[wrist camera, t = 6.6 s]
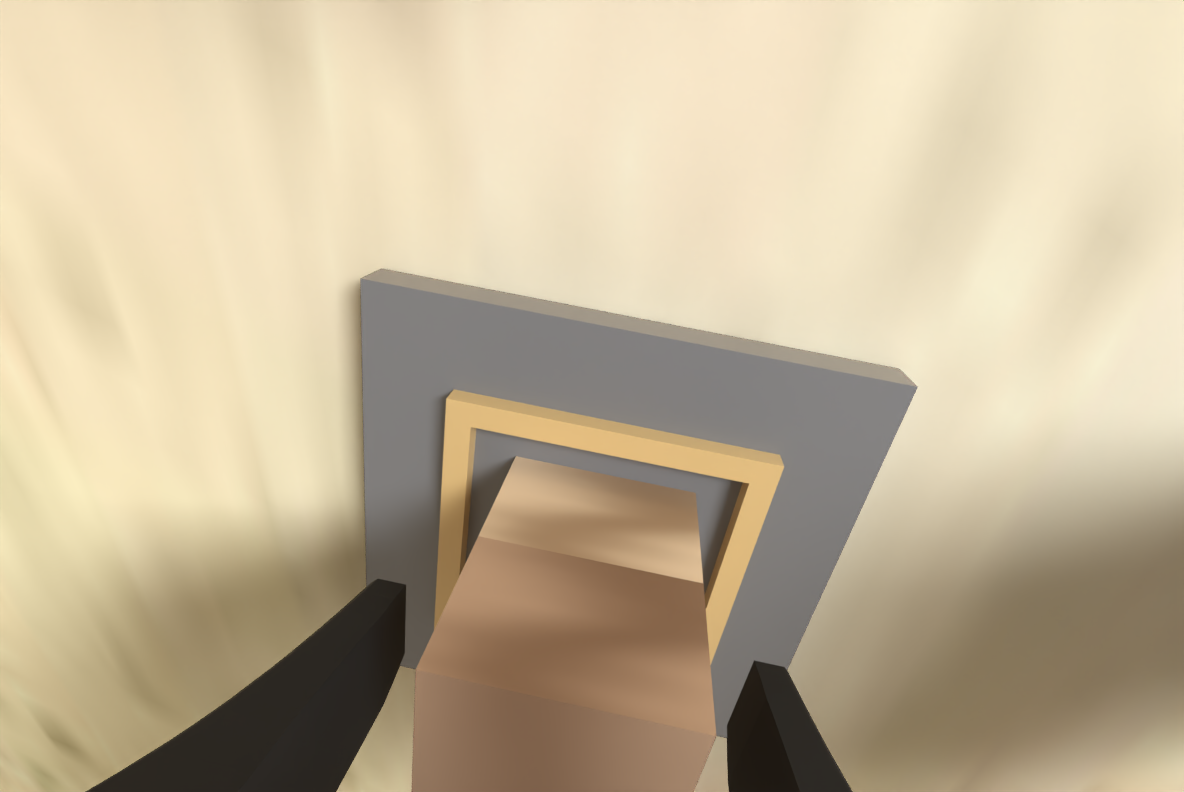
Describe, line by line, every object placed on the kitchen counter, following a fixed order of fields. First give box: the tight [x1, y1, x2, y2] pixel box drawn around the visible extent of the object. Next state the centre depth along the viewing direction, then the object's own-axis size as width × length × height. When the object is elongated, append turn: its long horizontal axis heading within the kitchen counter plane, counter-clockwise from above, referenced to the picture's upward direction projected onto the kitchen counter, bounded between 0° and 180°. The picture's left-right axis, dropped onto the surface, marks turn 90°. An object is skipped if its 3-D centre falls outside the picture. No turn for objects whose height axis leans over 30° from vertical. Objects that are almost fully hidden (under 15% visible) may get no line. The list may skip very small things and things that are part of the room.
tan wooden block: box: [412, 456, 716, 792], centre depth 12 cm, size 4×4×6 cm
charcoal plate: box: [360, 269, 917, 738], centre depth 15 cm, size 12×12×2 cm
